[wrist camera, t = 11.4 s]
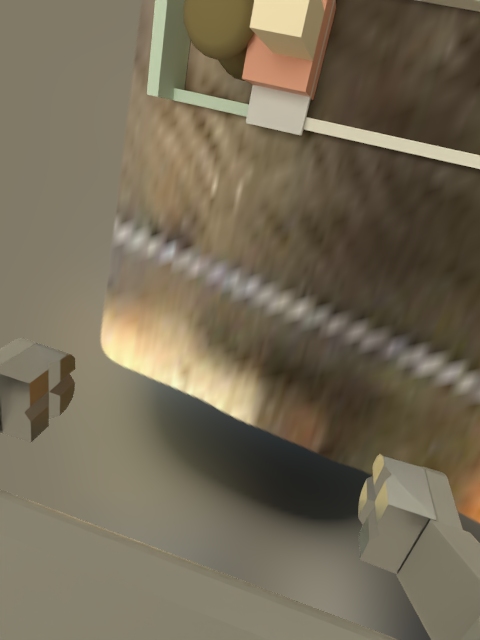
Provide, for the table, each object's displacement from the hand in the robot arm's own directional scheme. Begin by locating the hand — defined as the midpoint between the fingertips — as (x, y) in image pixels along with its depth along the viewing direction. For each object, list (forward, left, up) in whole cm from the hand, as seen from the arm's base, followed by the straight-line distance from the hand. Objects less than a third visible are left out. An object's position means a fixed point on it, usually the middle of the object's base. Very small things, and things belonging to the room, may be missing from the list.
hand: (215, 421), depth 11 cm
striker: (+5, -13, -35) cm, 37 cm away
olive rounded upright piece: (+10, -13, -35) cm, 39 cm away
